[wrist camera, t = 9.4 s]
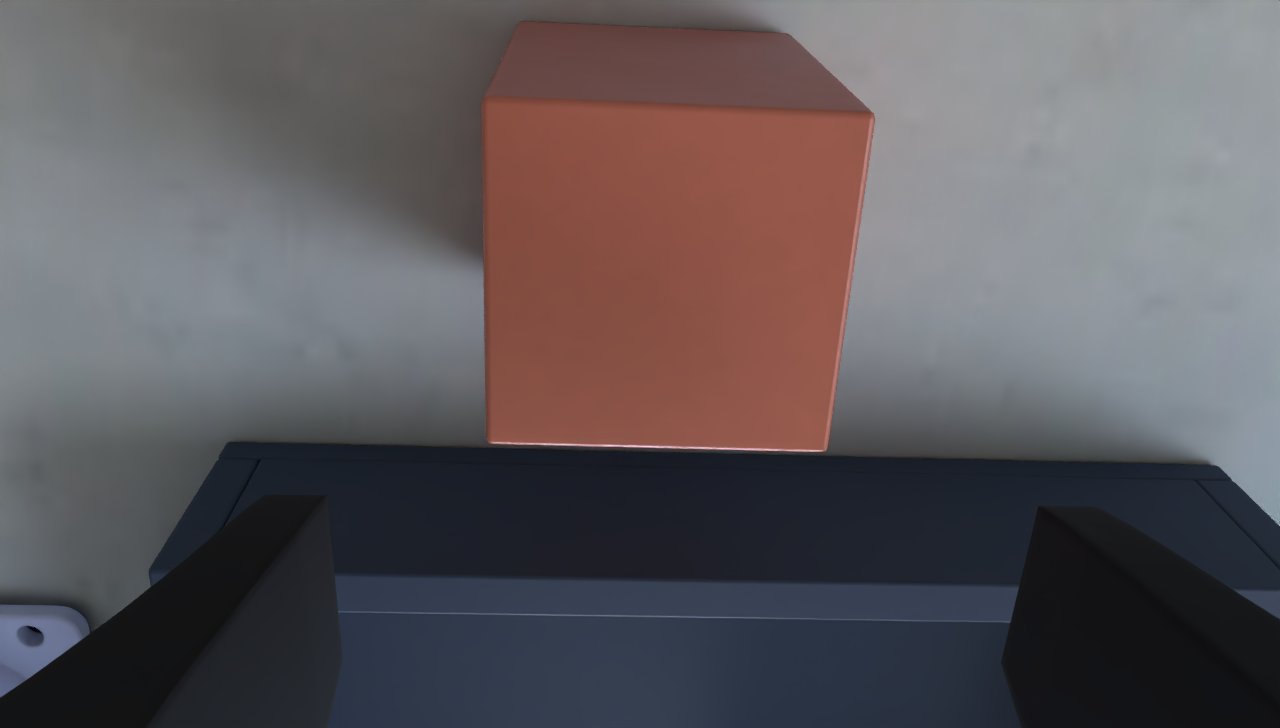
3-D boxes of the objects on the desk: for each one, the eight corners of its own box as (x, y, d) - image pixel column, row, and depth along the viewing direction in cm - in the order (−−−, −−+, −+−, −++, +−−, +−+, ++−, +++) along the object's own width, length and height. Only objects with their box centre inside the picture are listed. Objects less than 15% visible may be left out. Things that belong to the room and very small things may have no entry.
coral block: (516, 279, 19) (484, 446, 14) (517, 20, 17) (480, 95, 12) (764, 287, 19) (828, 455, 14) (792, 33, 18) (878, 112, 12)
